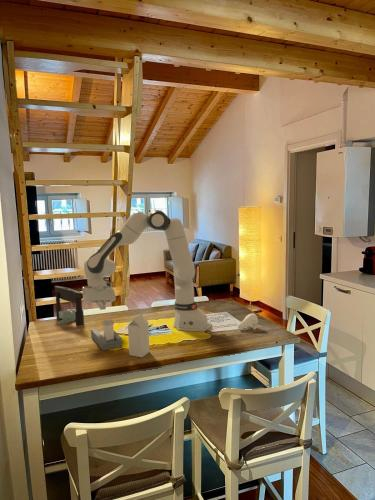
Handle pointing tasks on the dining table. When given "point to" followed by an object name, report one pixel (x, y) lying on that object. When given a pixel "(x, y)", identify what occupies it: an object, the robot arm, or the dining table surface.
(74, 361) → the dining table surface
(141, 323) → the milk carton
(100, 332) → the switch panel
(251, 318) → the white rounded lump
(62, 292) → the stool
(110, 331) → the switch knob
